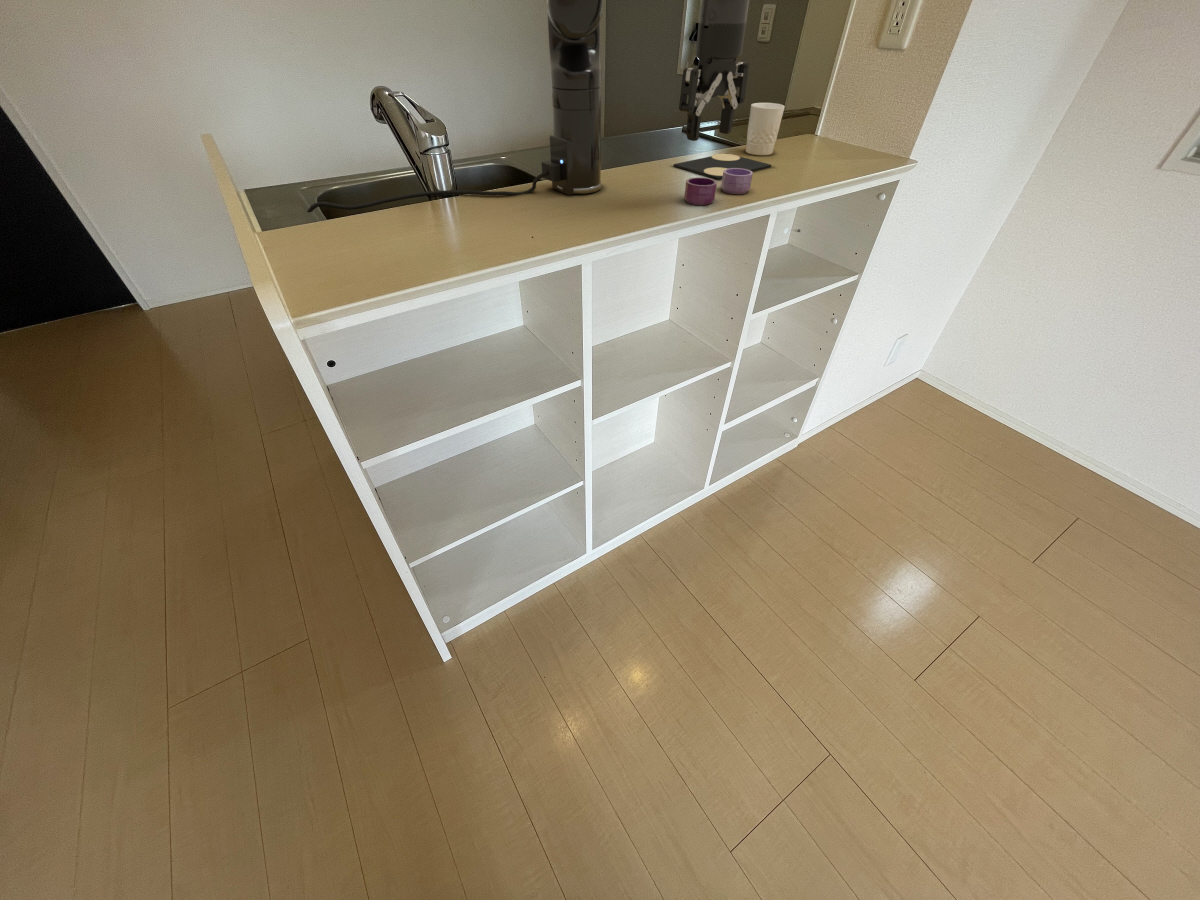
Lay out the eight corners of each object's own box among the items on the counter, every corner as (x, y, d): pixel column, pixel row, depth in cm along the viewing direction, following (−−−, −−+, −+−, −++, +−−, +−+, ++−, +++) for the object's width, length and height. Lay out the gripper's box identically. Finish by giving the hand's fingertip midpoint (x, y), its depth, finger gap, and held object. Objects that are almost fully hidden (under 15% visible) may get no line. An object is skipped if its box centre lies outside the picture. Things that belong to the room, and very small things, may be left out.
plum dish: (699, 207, 96) (702, 187, 93) (677, 200, 99) (679, 180, 97) (720, 202, 98) (723, 182, 96) (698, 194, 102) (701, 175, 99)
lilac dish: (736, 196, 101) (739, 177, 99) (714, 189, 104) (717, 170, 102) (755, 191, 103) (759, 172, 101) (733, 184, 107) (736, 166, 105)
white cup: (778, 156, 125) (788, 108, 118) (746, 156, 125) (754, 108, 119) (770, 149, 131) (780, 102, 124) (740, 148, 131) (748, 102, 124)
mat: (719, 180, 109) (719, 177, 109) (672, 166, 118) (672, 163, 118) (772, 167, 118) (772, 164, 117) (724, 155, 126) (725, 152, 126)
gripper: (733, 17, 86) (719, 128, 97) (674, 20, 80) (666, 139, 91) (769, 18, 82) (750, 134, 93) (709, 22, 75) (696, 146, 86)
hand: (708, 136), depth 92 cm, fingers open, 8 cm apart
